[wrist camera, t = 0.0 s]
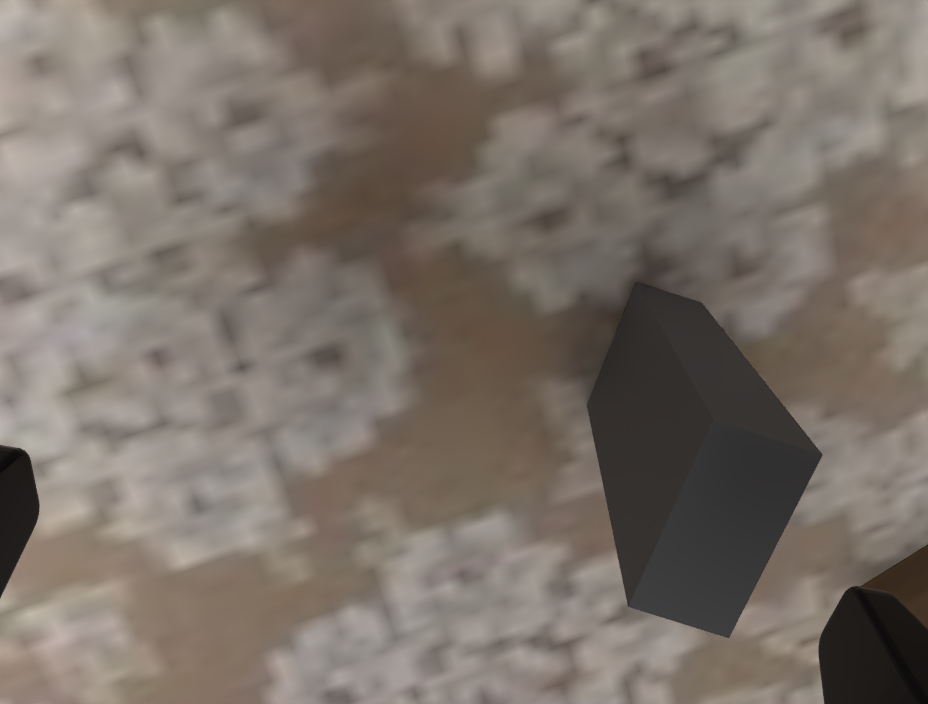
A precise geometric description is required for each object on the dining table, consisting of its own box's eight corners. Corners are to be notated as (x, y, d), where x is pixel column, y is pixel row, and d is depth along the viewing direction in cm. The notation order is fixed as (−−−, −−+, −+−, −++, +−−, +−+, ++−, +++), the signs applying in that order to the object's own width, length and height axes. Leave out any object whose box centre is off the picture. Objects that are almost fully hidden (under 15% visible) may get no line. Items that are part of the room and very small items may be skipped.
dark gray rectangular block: (702, 303, 24) (822, 455, 14) (649, 425, 25) (729, 637, 16) (636, 281, 24) (713, 419, 14) (586, 405, 25) (628, 606, 16)
